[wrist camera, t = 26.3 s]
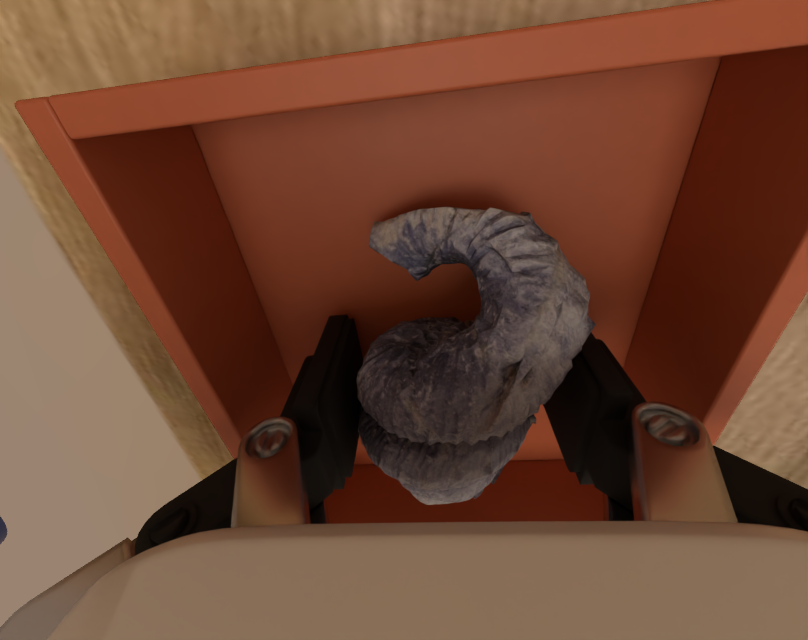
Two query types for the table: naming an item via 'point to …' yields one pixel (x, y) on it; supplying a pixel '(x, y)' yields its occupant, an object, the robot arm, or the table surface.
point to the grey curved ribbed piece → (469, 351)
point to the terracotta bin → (462, 188)
